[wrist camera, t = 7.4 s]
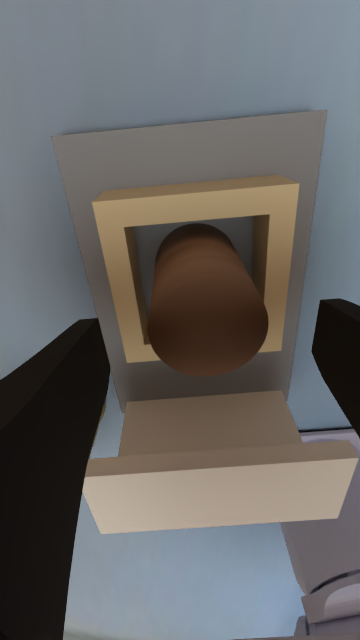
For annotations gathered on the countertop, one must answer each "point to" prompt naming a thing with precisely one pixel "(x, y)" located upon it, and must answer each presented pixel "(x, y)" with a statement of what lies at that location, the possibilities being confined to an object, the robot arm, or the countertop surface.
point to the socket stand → (133, 314)
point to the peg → (204, 304)
